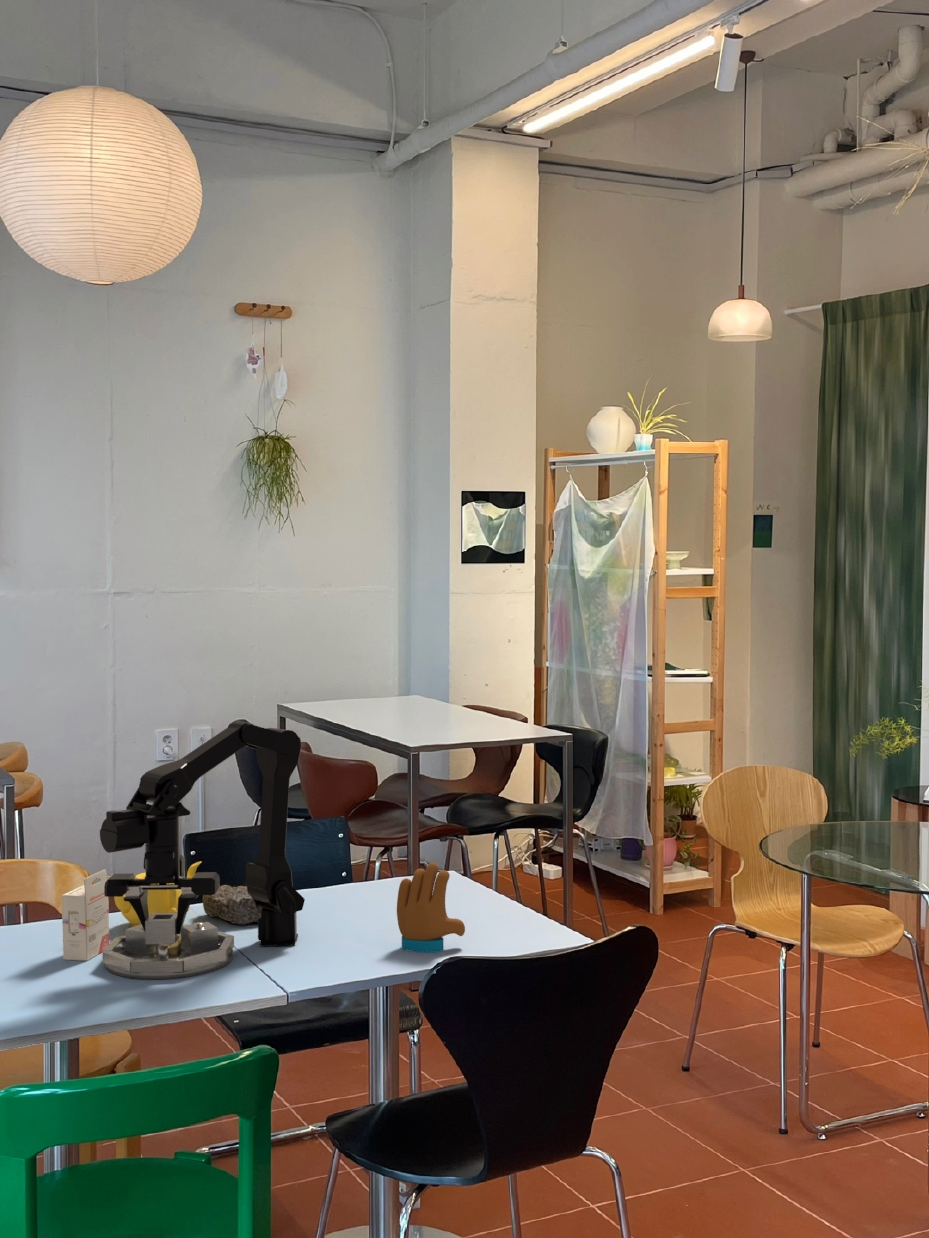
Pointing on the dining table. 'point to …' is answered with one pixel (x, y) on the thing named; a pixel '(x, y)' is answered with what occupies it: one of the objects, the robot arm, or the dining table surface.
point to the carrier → (169, 953)
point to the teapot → (154, 900)
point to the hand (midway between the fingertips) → (163, 933)
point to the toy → (425, 911)
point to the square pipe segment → (161, 928)
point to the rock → (232, 905)
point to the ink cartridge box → (85, 919)
